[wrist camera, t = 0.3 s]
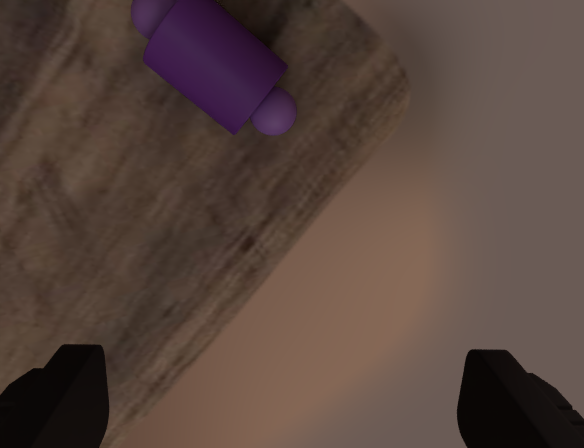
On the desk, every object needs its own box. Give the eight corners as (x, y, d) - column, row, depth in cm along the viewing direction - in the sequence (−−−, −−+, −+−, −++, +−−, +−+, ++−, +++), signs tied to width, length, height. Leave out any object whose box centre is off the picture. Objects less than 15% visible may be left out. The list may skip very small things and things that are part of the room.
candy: (123, 38, 22) (93, 30, 18) (173, -33, 21) (151, -58, 18) (264, 153, 24) (264, 166, 20) (314, 91, 23) (323, 93, 19)
